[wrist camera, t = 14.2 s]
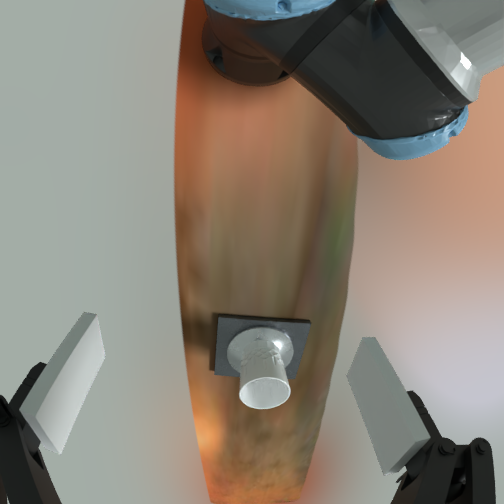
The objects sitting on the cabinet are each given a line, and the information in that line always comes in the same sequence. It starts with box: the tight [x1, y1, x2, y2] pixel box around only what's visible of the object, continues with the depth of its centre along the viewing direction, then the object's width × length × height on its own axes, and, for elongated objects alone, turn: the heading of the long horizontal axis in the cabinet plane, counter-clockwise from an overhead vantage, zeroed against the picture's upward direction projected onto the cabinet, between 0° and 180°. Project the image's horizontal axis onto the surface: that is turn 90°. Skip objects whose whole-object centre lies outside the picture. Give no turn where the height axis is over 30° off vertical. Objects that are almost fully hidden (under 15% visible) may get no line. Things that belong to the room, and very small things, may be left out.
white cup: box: [239, 340, 290, 409], centre depth 47 cm, size 8×8×10 cm
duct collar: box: [214, 314, 311, 379], centre depth 52 cm, size 14×16×2 cm
